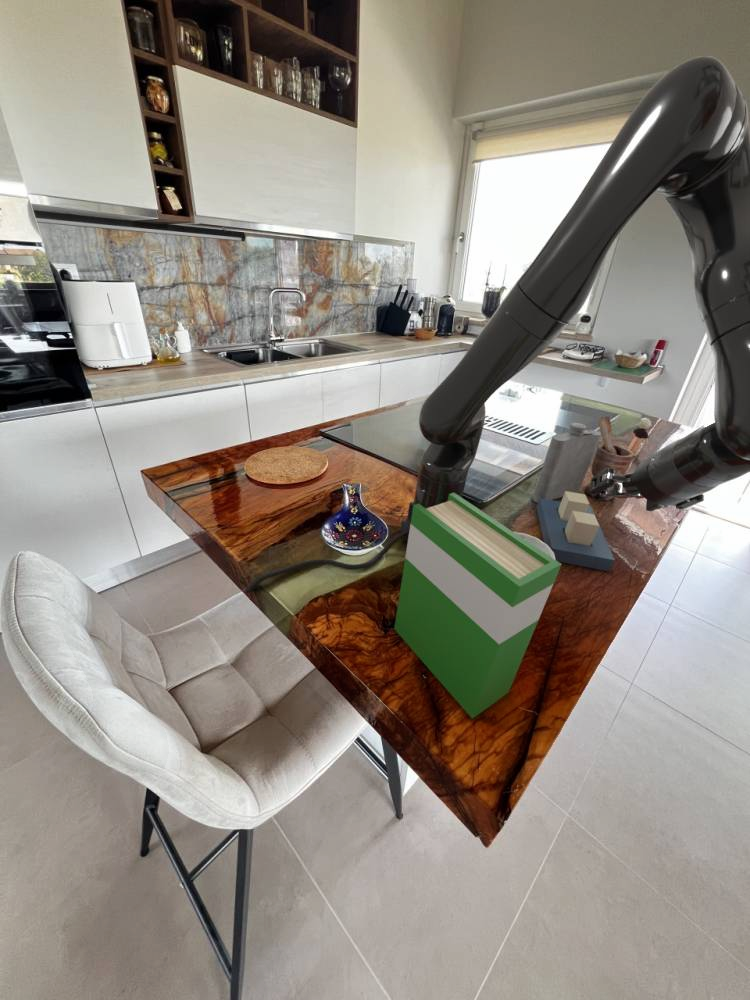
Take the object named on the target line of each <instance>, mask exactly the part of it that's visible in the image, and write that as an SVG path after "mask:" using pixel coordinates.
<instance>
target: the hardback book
mask: <svg viewBox="0 0 750 1000" xmlns="http://www.w3.org/2000/svg"><path fill="white" fill-rule="evenodd" d="M514 532H515V531H513V530H511V529H510V528H508V527H506V526H505V525H504V524H502V523H500V522H499V521H497V520H496V519H495V518H493V517H491V515H488V514H487V513H485V512H484V511H482V510H481V509H480V508H478V507H476V506H475V505H474V504H472V503H470V502H469V501H468V500H466V499H464V498H463V497H462V498H461V497H460V496H458V495H457V494H455V493H451V494H449V497H448V502H445V503H442V504H439V505H435V506H432V507H429V508H426V509H425V508H424V507H423V506H421V505H420V504H416V505H413V512H412V518H411V524H410V531H409V537H408V543H406V551H405V557H404V563H403V570H402V576H401V583H400V591H399V595H398V603H397V609H396V614H395V615H396V616H395V621H394V627H393V628H394V631H395V632H396V633H397V634H398V635H399V637H401V639H402V640H403V641H404V642H405V643H406V645H408V647H409V648H410V649H411V651H413V653H414V654H415V655H416V656H417V657H418V659H419V660H421V662H422V663H423V664H424V666H426V667H427V669H428V670H429V671H430V672H431V673H432V675H434V677H435V678H436V679H437V680H438V681H439V682H440V684H441V685H443V687H444V688H445V689H446V691H447V692H448V693H449V694H450V695H451V697H453V698H454V700H455V701H456V702H457V703H458V704H459V706H461V708H462V709H463V711H465V712H466V714H467V715H468V716H469V717H470V718H471V719H474V718H476V717H477V716H479V715H480V714H481V713H483V712H484V711H485V710H487V709H488V708H489V707H491V706H492V705H494V704H495V703H496V702H497V701H499V700H500V699H502V698H503V697H505V696H506V695H508V693H509V692H510V690H511V688H512V685H513V683H514V680H515V678H516V676H517V673H518V671H519V668H520V666H521V664H522V661H523V658H524V656H525V654H526V651H527V649H528V647H529V644H530V642H531V640H532V637H533V634H534V632H535V629H536V627H537V624H538V622H539V620H540V618H541V615H542V613H543V610H544V608H545V605H546V603H547V601H548V598H549V596H550V593H551V591H552V588H553V586H554V584H555V581H556V579H557V577H558V575H559V571H560V569H561V567H562V565H563V564H562V562H558V561H556V560H555V559H553V558H552V557H550V556H549V555H547V554H546V553H544V552H543V551H541V550H540V549H538V548H537V547H535V546H534V545H532V544H531V543H529V542H528V541H526V540H525V539H523V538H522V537H520V536H519V535H517V534H516V533H514Z"/></svg>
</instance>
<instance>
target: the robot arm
mask: <svg viewBox="0 0 750 1000" xmlns="http://www.w3.org/2000/svg"><path fill="white" fill-rule="evenodd" d="M748 107H749V106H748V104H747V101H746V99H745V98H744V96H743V94H742V91H741V90H740V88H739V87H738V85H737V82H736V81H735V80H734V78H733V77H732V75H731V73H730V71H729V70H728V68H727V67H726V66H725V64H723V62H722V61H720V60H719V59H718V58H716V57H714V56H710V55H698V56H695V57H692V58H690V59H687V60H685V61H682V62H681V63H680V64H678V65H676V66H675V67H673V68H672V69H671V70H669V71H668V72H667V73H665V74H664V75H663V76H662V77H661V78H660V79H659V80H658V81H656V83H655V84H654V85H653V86H652V87H650V89H649V90H648V91H647V92H646V94H644V96H643V97H642V98H641V100H640V101H639V102H638V104H637V105H636V107H635V108H634V109H633V111H632V112H631V113H630V115H629V116H628V118H627V120H626V121H625V122H624V124H623V125H622V127H621V128H620V130H619V131H618V132H617V135H616V136H615V138H614V140H613V141H612V142H611V144H610V146H609V148H608V149H607V150H606V152H605V154H604V155H603V157H602V159H601V161H600V162H599V163H598V165H597V167H596V168H595V170H594V172H593V173H592V174H591V176H590V178H589V180H588V181H587V183H585V186H584V187H583V189H582V190H581V192H580V194H579V195H578V197H577V198H576V200H575V201H574V203H573V204H572V206H571V207H570V208H569V210H568V211H567V213H566V214H565V216H564V217H563V218H562V220H561V221H560V223H559V224H558V225H557V227H556V228H555V230H554V231H553V232H552V234H551V235H550V236H549V238H548V240H547V241H546V242H545V244H544V245H543V246H542V248H541V249H540V251H539V252H538V254H537V255H536V256H535V258H534V259H533V260H532V262H531V263H530V265H529V266H528V267H527V268H526V269H525V270H524V271H523V273H522V275H521V276H520V277H519V278H518V279H517V281H516V282H515V283H514V285H513V286H512V287H511V289H510V290H509V291H508V293H507V294H506V296H505V297H504V298H503V300H502V301H501V302H500V304H499V306H497V309H496V310H495V311H494V313H493V314H492V316H491V317H490V319H489V320H488V321H487V323H486V324H485V325H484V327H483V328H482V330H481V331H480V332H479V334H478V335H477V337H476V338H475V340H474V341H473V342H472V344H471V345H470V347H469V348H468V350H467V351H466V353H465V354H464V355H463V357H462V358H461V360H460V361H459V362H458V363H457V364H456V366H455V367H454V369H452V371H451V372H450V373H449V374H448V375H447V376H446V377H445V378H444V379H443V381H442V382H441V383H440V384H438V386H437V387H436V388H435V389H434V390H433V391H432V393H430V394H429V395H428V397H427V398H425V400H424V402H423V404H422V406H421V408H420V411H419V415H418V426H419V430H420V432H421V435H422V436H423V437H424V439H426V441H428V442H429V444H428V445H427V447H426V449H425V450H424V452H422V454H421V456H420V458H419V459H420V460H419V466H418V474H417V479H416V485H415V492H414V499H413V501H410V502H409V504H408V510H407V518H405V519H402V520H401V523H400V530H401V532H400V533H398V534H397V535H395V536H394V537H392V538H391V540H389V541H388V542H387V544H386V545H385V547H384V548H382V549H381V550H380V551H379V552H378V553H377V554H376V555H375V556H374V557H372V558H371V559H370V560H368V561H365V562H362V563H357V564H351V563H346V562H340V561H338V560H334V559H329V558H317V559H309V560H305V561H301V562H298V563H294V564H292V565H288V566H287V567H286V566H285V567H283V568H279V569H275V570H272V571H269V572H265V573H263V574H262V575H260V576H258V577H257V578H255V579H254V580H253V581H251V583H250V584H249V585H248V586H247V588H246V589H245V591H246V593H247V592H248V593H250V592H252V591H254V590H255V588H256V587H257V586H258V585H260V584H261V583H262V582H264V581H266V580H267V579H269V578H273V577H275V576H279V575H283V574H286V573H289V572H292V571H294V570H298V569H301V568H304V567H308V566H313V565H314V566H315V565H329V566H333V567H337V568H340V569H346V570H361V569H362V570H363V569H365V568H369V567H371V566H373V565H375V563H377V562H378V561H379V560H380V559H381V558H382V557H383V556H385V555H386V554H387V553H388V552H389V550H390V549H391V548H392V547H393V546H394V544H395V543H397V542H398V541H400V540H401V539H403V538H404V541H405V542H406V544H408V537H409V531H410V524H411V518H412V512H413V505H416V504H420V505H421V506H423V507H424V508H425V509H426V508H429V507H432V506H435V505H439V504H442V503H445V502H448V497H449V494H451V493H455V494H457V495H458V496H460V497H461V498H463V495H464V491H465V487H466V486H465V485H466V483H467V478H468V473H469V470H470V468H471V466H472V464H473V462H474V460H475V458H476V456H477V453H478V450H479V445H480V442H481V437H482V434H483V429H484V426H485V421H486V405H485V403H486V402H487V401H488V400H489V399H490V398H491V396H492V395H494V394H495V392H497V391H498V390H499V389H500V388H501V387H502V386H503V385H504V384H506V383H507V382H508V381H509V380H511V379H512V378H514V377H515V376H516V375H517V374H518V373H519V372H521V371H522V370H524V369H525V368H526V367H528V365H530V364H531V363H532V362H533V361H534V360H536V358H538V357H539V356H540V355H541V354H542V353H544V351H545V350H546V349H547V348H548V347H550V345H551V344H552V343H553V342H554V341H555V340H556V339H558V337H559V335H561V333H562V332H563V331H564V330H565V328H567V327H568V326H569V324H570V323H572V321H573V320H574V319H575V318H576V317H577V315H578V314H579V312H580V311H581V310H582V308H583V307H584V305H585V303H586V302H587V299H588V298H589V296H590V293H591V291H592V289H593V287H594V284H595V282H596V280H597V278H598V276H599V273H600V271H601V268H602V267H603V264H604V261H605V259H606V257H607V255H608V252H609V251H610V249H611V248H612V247H613V244H614V243H615V241H616V239H617V238H618V236H619V235H620V234H621V232H622V231H623V230H624V228H625V227H626V225H627V224H628V223H629V222H630V221H631V220H632V219H633V218H634V216H635V215H636V214H637V213H638V211H639V210H640V209H641V208H642V207H643V206H644V204H645V203H646V202H647V201H648V200H649V199H650V198H651V196H652V195H653V194H654V193H658V194H660V195H661V196H662V198H663V199H664V200H665V201H666V203H667V204H668V206H669V207H670V209H671V210H672V212H673V213H674V215H675V216H676V218H677V220H678V221H679V223H680V225H681V228H682V230H683V233H684V235H685V237H686V241H687V243H688V248H689V252H690V256H691V264H692V266H691V267H692V279H693V289H694V295H695V301H696V305H697V309H698V313H699V316H700V319H701V322H702V324H703V328H704V331H705V334H706V336H707V340H708V343H709V345H710V349H711V350H712V351H711V352H712V354H713V357H714V409H713V410H714V411H713V412H714V414H713V416H714V418H713V419H714V420H712V421H710V422H708V423H705V424H704V425H702V426H700V427H698V428H697V429H695V430H694V431H692V432H691V433H689V434H687V435H685V436H684V437H682V438H680V439H677V440H674V441H672V442H671V443H668V444H667V445H666V446H664V447H662V448H661V449H659V450H658V451H656V452H655V453H653V454H651V455H650V456H648V457H647V458H645V459H643V461H641V462H640V463H639V464H638V465H637V466H636V468H635V469H634V470H633V472H629V473H627V472H626V473H625V475H617V474H615V469H612V468H609V469H606V470H604V471H602V472H601V473H599V474H597V475H596V476H591V478H590V482H591V488H590V493H592V496H591V499H593V502H596V503H600V502H601V501H604V500H603V499H605V498H607V497H609V496H614V497H615V498H617V499H630V498H635V499H645V500H646V503H645V511H646V512H654V511H656V510H659V509H662V508H664V509H670V508H671V507H672V506H675V509H677V510H685V509H687V508H690V507H692V506H694V505H695V506H696V505H697V504H699V503H701V502H704V501H705V500H704V499H705V493H708V492H710V491H713V490H714V489H715V488H717V487H718V486H721V485H723V484H726V483H727V482H730V481H732V480H735V479H738V478H740V477H742V476H744V475H746V474H748V473H750V122H749V108H748ZM609 487H610V488H612V489H613V490H612V491H609ZM623 489H624V490H625V492H624V491H623Z"/></svg>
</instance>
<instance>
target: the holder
mask: <svg viewBox="0 0 750 1000" xmlns="http://www.w3.org/2000/svg"><path fill="white" fill-rule="evenodd" d="M560 504H561V501H558V500H554V499H553V500H548V499H542V498H540V499H539V502H538V503H537V504H536V513H537V517H538V521H539V527H540V531H541V536H542V539H543V542H544V543H545V544H547V545H548V546H549V547H550V549H551V550H552V551H553V552H554V554H555V559H556V561H558V562H559V563H564V564H569V565H574V566H579V567H584V568H590V569H594V570H599V571H605V572H610V571H611V569H612V568H613V565H614V563H615V561H616V558H615V557H614V555H613V552H612V550H611V548H610V546H609V543H608V541H607V539H606V537H605V534H604V532H603V530H602V528H601V525H600V523H599V521H598V518H597V517H596V515H595V511H594V510H593V507H592V506H589V507H588V509H587V511H586V513H589V514H594V515H595V517H596V520H597V522H598V524H599V528H598V530H597V532H596V534H595V537H594V539H593V541H592V543H591V546H586V545H581V544H576V543H570V542H567V541H566V538H565V535H564V531H565V528H566V526H567V523H568V521H565V520H560V518H559V515H558V509H559V506H560Z"/></svg>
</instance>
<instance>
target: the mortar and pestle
mask: <svg viewBox="0 0 750 1000" xmlns="http://www.w3.org/2000/svg"><path fill="white" fill-rule="evenodd" d="M611 421H612V420H611V419H610V417H609V416H607V415H606V416H602V417H599V418H598V428H599V430H600V431H599V432H600V433H601V437H602V441H603V443H601V444H598V445H597V447H596V450H595V453H594V456H593V457H594V458H593V459H592V464H591V474H592V477H594V476H596V475H597V474H599V473H601V472H602V471H604V470H606V469H609V468H612V469H615V474H617V475H625V474H627V471H628V470H629V467H630V465H631V463H632V461H633V459H634V457H635V456H634V453H633V452H632V451H630V450H629V449H628V448H626V447H624V446H620V445H617V444H614V443H613V435H612V434H613V433H612V432H613V431H612V422H611ZM590 488H591V481H590V482H588V483H587V484H586V486H585V487H584V491H585V493H587V494H588V495H589V496H591V497H592V493H590ZM612 490H613V488H610V487H609V491H612ZM614 497H615V496H609V497H607V498H605V499H603V500H602V501H609V500H612V499H613V498H614Z"/></svg>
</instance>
